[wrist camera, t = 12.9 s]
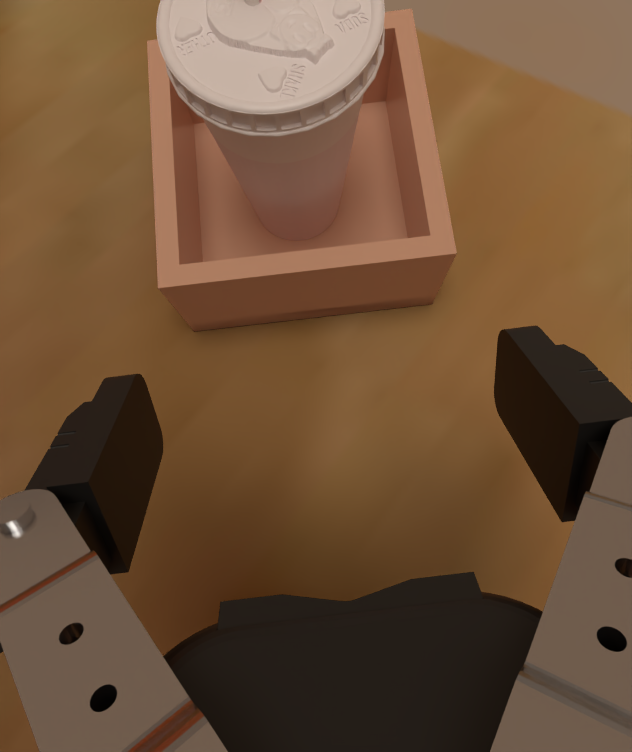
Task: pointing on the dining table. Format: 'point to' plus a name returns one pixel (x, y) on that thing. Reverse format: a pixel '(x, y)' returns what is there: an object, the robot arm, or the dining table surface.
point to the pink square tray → (325, 251)
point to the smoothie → (277, 94)
